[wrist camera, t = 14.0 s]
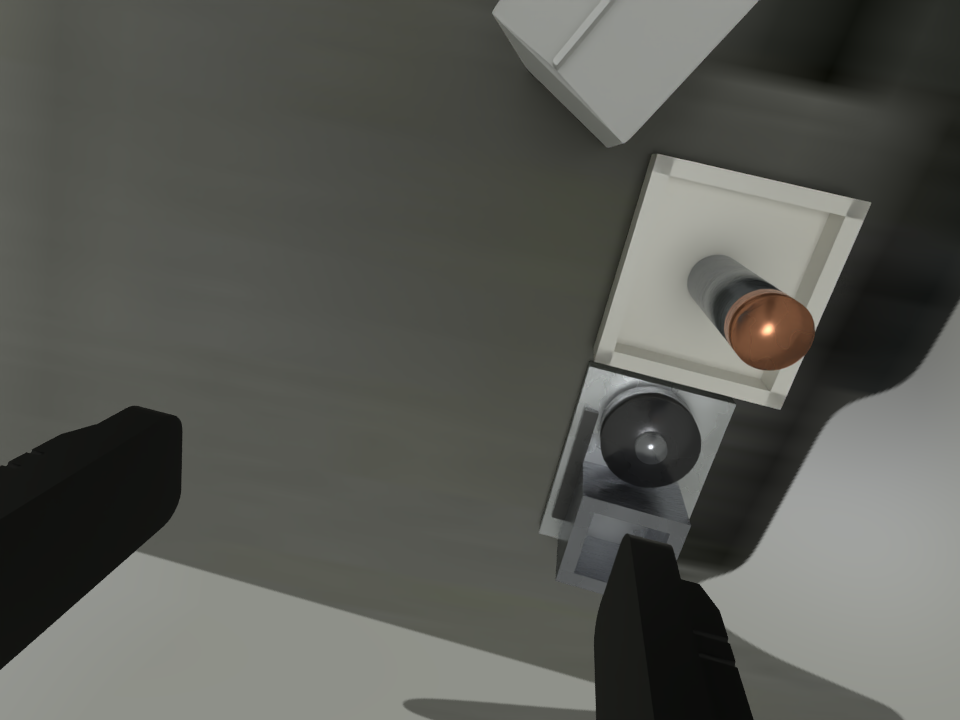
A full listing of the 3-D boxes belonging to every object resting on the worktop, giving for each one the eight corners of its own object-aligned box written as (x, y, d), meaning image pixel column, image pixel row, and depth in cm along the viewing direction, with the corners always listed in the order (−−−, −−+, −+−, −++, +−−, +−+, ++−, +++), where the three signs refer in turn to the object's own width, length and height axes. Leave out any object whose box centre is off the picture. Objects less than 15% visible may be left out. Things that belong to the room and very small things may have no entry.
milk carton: (697, 52, 34) (820, -58, 17) (608, 149, 37) (632, 142, 19) (610, -38, 34) (641, -253, 16) (524, 67, 36) (471, -19, 18)
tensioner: (589, 360, 41) (590, 392, 36) (731, 397, 41) (755, 436, 35) (539, 523, 46) (534, 574, 41) (666, 559, 46) (678, 616, 40)
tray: (652, 153, 37) (657, 153, 34) (848, 199, 36) (871, 202, 33) (593, 347, 41) (594, 361, 38) (766, 392, 40) (780, 409, 37)
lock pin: (697, 248, 37) (748, 288, 26) (752, 261, 37) (827, 307, 26) (679, 300, 38) (720, 359, 27) (732, 313, 38) (796, 378, 27)
